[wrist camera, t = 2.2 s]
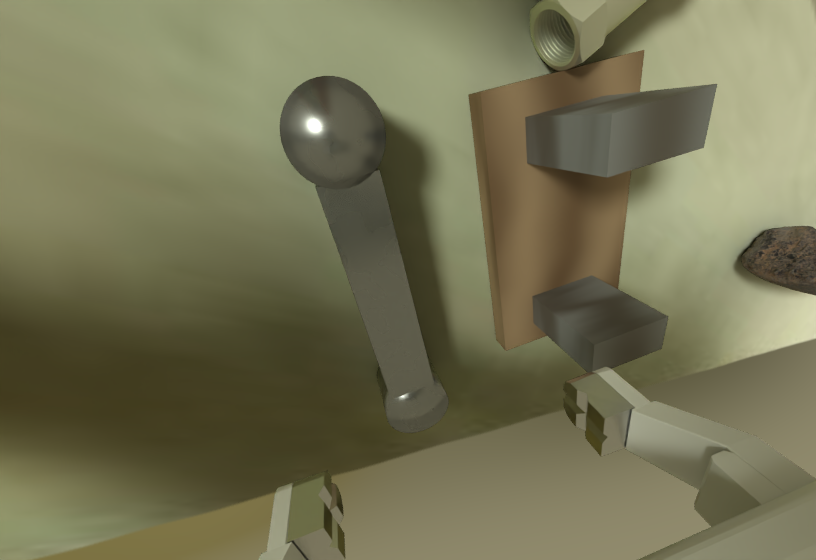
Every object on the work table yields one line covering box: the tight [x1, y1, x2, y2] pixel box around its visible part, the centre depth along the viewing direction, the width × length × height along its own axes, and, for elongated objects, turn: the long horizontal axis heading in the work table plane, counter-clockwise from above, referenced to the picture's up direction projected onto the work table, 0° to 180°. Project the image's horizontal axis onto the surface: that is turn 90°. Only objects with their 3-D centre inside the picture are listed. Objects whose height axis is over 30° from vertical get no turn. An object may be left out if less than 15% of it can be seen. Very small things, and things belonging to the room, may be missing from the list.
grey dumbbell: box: [280, 76, 449, 433], centre depth 20 cm, size 4×22×4 cm, turn 13°
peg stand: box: [469, 50, 717, 373], centre depth 20 cm, size 10×18×8 cm, turn 13°
